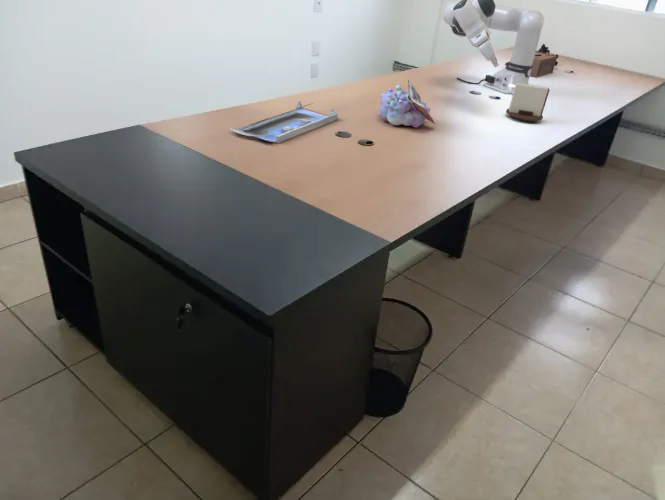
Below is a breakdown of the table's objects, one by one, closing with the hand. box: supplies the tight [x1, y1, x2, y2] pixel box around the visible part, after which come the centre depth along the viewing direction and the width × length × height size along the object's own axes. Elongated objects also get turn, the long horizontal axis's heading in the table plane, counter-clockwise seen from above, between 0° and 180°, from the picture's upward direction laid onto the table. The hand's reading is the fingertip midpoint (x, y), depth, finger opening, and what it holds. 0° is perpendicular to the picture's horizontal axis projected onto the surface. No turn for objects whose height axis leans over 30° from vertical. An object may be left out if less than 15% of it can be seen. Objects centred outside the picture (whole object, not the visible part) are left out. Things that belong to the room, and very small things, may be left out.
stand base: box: [509, 115, 538, 124], centre depth 246 cm, size 12×12×1 cm
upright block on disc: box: [505, 83, 551, 122], centre depth 243 cm, size 16×16×13 cm
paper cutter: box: [230, 101, 339, 144], centre depth 203 cm, size 18×45×6 cm, turn 148°
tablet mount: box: [537, 43, 559, 66], centre depth 374 cm, size 27×14×17 cm
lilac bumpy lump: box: [379, 79, 436, 129], centre depth 219 cm, size 20×22×18 cm
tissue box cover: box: [530, 50, 558, 78], centre depth 336 cm, size 26×14×10 cm, turn 139°
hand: (496, 63), depth 238 cm, fingers open, 8 cm apart
